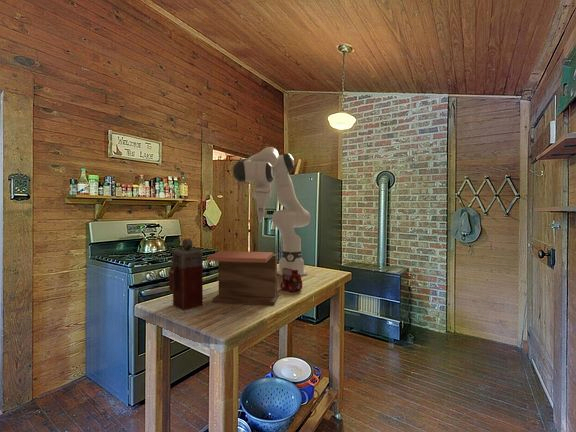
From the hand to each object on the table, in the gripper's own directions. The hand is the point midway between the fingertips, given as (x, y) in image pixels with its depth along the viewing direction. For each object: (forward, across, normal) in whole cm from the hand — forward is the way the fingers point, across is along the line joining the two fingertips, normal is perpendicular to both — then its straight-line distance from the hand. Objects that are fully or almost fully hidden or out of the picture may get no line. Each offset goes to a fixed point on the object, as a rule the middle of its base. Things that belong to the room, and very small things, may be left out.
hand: (260, 221), depth 148 cm
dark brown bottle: (+41, +7, -28) cm, 50 cm away
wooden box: (+36, +1, -3) cm, 37 cm away
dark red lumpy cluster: (+31, -12, +18) cm, 38 cm away
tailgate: (+18, +7, -4) cm, 20 cm away
